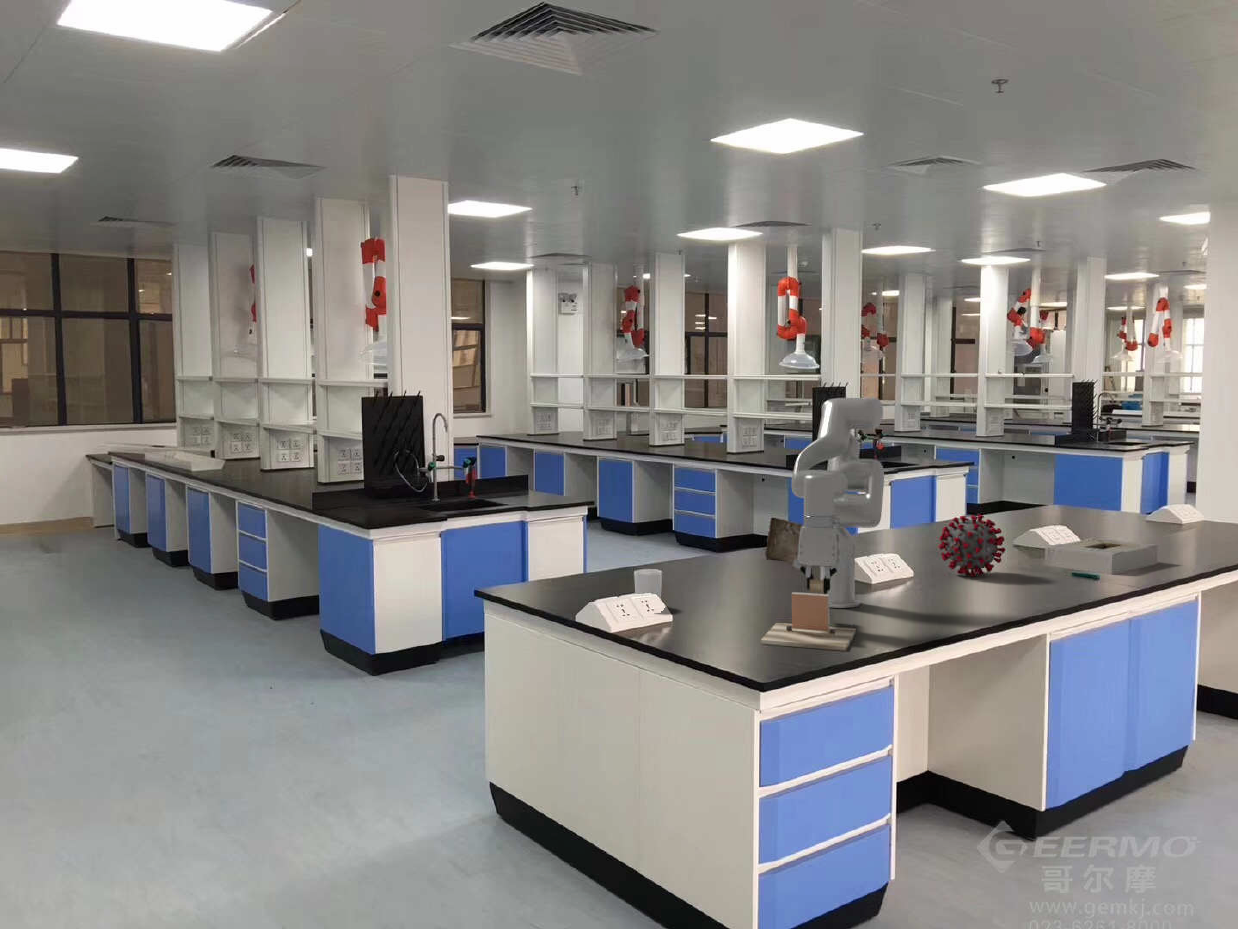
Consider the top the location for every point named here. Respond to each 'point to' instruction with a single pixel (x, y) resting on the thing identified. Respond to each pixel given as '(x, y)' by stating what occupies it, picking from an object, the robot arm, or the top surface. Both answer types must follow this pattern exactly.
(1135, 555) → the box
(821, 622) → the tile
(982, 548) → the virus model
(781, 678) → the top surface
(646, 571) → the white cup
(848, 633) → the board
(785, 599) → the top surface
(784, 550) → the mineral sample
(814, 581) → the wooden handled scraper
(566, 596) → the top surface
